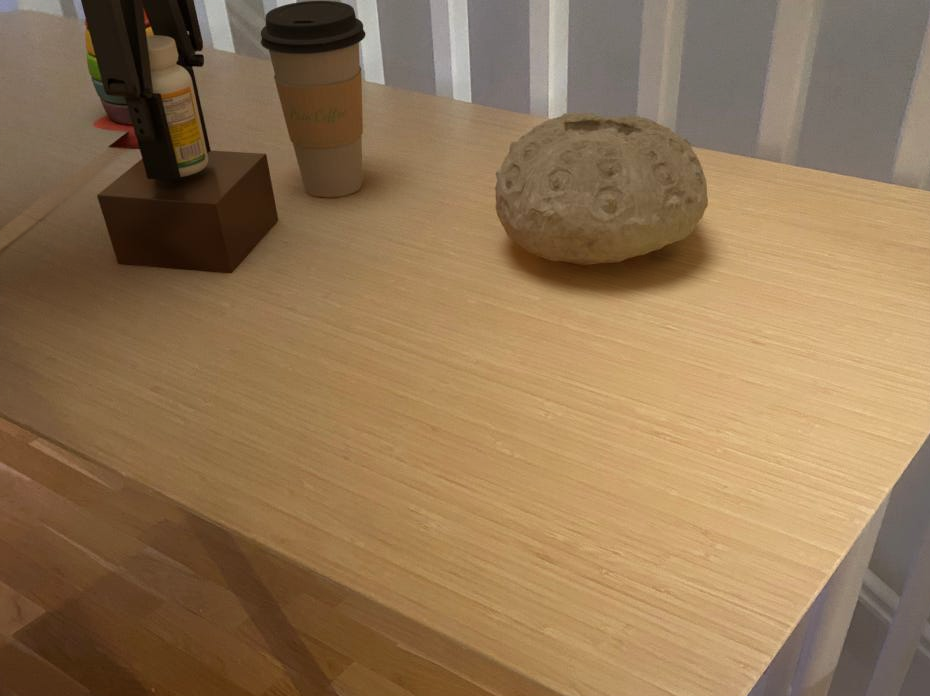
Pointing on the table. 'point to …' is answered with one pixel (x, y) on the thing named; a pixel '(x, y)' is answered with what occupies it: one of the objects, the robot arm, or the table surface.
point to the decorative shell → (599, 188)
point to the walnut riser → (191, 214)
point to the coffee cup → (320, 90)
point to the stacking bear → (112, 99)
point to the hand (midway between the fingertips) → (179, 163)
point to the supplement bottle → (178, 104)
